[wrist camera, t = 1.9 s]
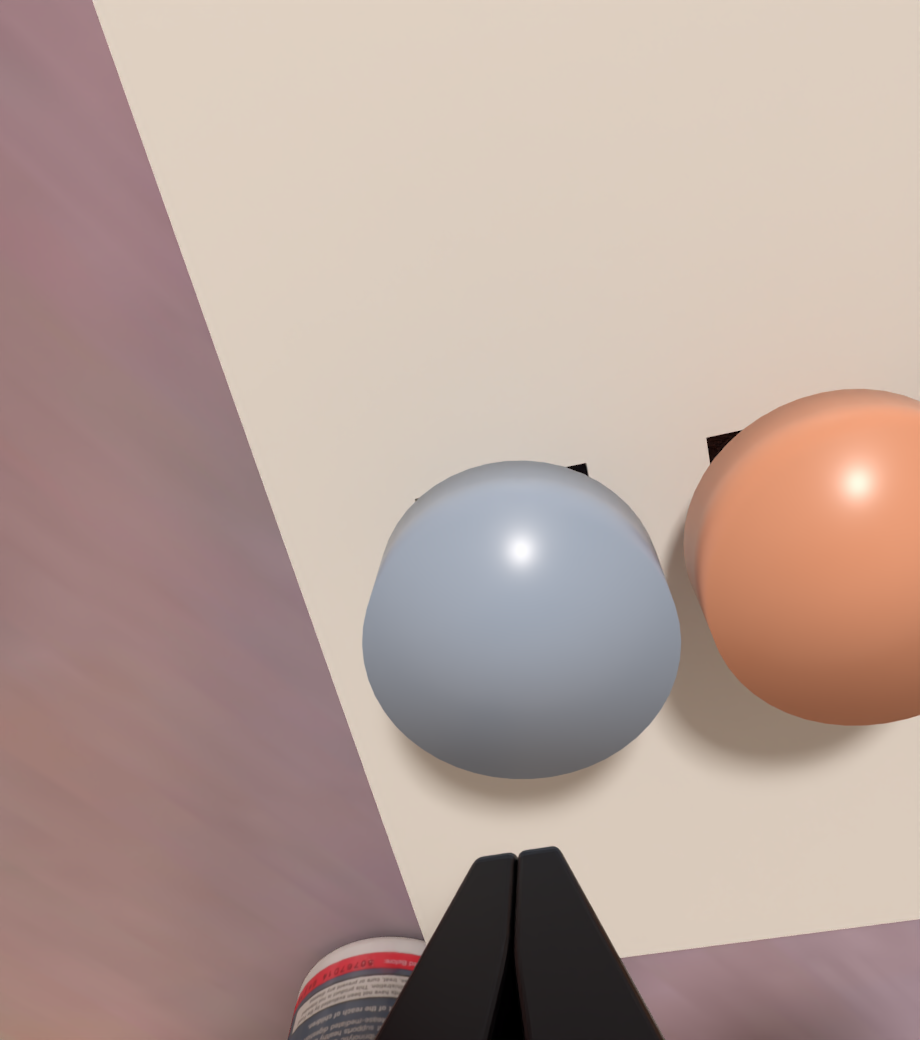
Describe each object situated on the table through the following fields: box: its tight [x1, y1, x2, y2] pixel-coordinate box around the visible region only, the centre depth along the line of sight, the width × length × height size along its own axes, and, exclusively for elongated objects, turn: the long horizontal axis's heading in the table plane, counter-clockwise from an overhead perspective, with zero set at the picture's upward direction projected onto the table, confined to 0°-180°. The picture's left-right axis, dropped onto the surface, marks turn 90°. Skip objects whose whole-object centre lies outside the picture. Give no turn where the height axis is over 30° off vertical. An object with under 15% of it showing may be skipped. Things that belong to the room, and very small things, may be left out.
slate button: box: [362, 461, 681, 779], centre depth 14 cm, size 5×5×4 cm
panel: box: [92, 0, 920, 958], centre depth 16 cm, size 18×20×2 cm
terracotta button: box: [683, 389, 920, 726], centre depth 14 cm, size 5×5×4 cm
